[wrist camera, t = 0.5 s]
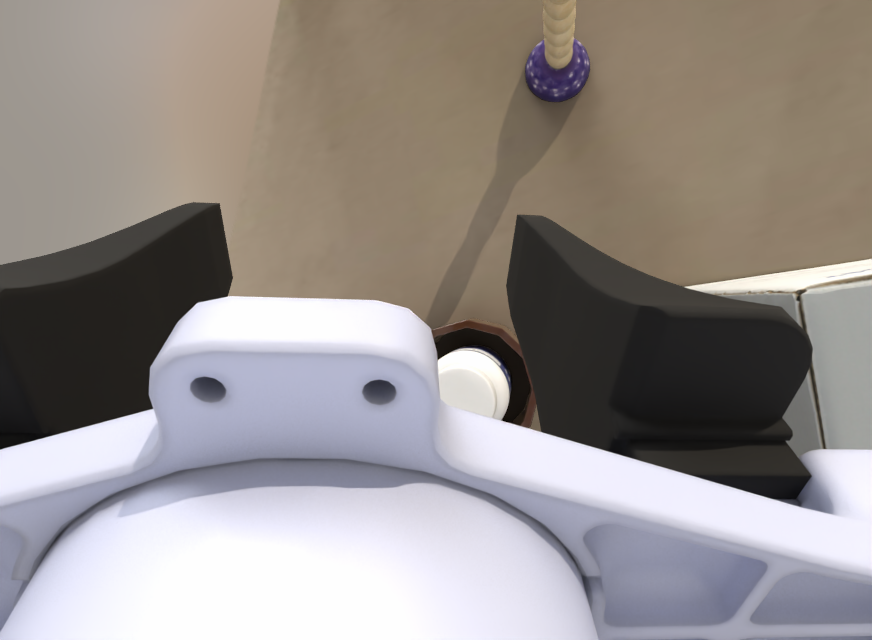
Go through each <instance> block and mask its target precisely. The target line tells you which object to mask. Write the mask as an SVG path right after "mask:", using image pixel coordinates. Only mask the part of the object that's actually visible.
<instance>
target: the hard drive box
mask: <svg viewBox="0 0 872 640" xmlns="http://www.w3.org/2000/svg"><path fill="white" fill-rule="evenodd" d="M685 288H689V289H693V290H696V291H700V292H704V293H708V294H713V295H717V296H721V297H726V298H730V299H736V300H742V301H748V302H755V303H761V304H767V305H774V306H780V307H782V308H783V309H784V310H785V311H786V312H787V313H788V314H789V315H790V316H791V317H792V318H793V319H794V320H795V321H796V322H797V323H798V324H799V325H800V326H801V327H802V328H803V330H804V331H805V332H806V333H807V334H808V335H809V338H810V341H811V344H812V347H813V353H812V363H811V366H810V368H809V370H808V373H807V375H806V378H805V379H804V381H803V383H802V385H801V386H800V388H799V390H798V391H797V393H796V395H795V397H794V398H793V400H792V402H791V403H790V405H789V407H788V408H787V410H786V412H785V414H784V415H783V417H782V418H783V419H784V420H785V421H786V423H787V424H788V425H789V427H790V428H791V429H792V431H793V436H792V438H791V440H790V441H786V442H787V444H788V445H789V446H790V447H791V449H792V450H793V451H794V453H795V454H796V455H797V457H799V456H800V455H802V454H804V453H806V452H808V451H811V450H818V449H857V450H872V259H868V260H862V261H856V262H849V263H843V264H836V265H830V266H823V267H817V268H810V269H803V270H796V271H789V272H782V273H776V274H769V275H762V276H756V277H749V278H742V279H735V280H728V281H721V282H714V283H707V284H701V285H694V286H687V287H685Z"/></svg>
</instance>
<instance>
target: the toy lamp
mask: <svg viewBox="0 0 872 640" xmlns="http://www.w3.org/2000/svg"><path fill="white" fill-rule="evenodd" d="M575 5H576V0H543V6H544V10H543V21H544V28H543V31H544V36H545V38H544V40H543V41H541V42H540V43H539V44H538V45H537V46H536V47H535V48H534V49H533V50H532V52H531V54H530V55H529V58H528V60H527V63H526V68H525V77H526V82H527V84H528V86H529V88H530V90H531V91H532V92H533V93H534V94H535V95H536V96H538V97H539V98H541V99H543V100H546V101H550V102H560V101H564V100H567V99H570V98H572V97H573V96H575V95H576V94H577V93H578V92H579V91H580V90H581V89H582V88H583V86H584V85H585V82H586V81H587V79H588V76H589V71H590V61H589V57H588V54H587V51H586V49H585V48H584V47H583V45H582V44H581V43H580V42H579V41H577V40H576V39H574V38H573V34H574V30H575V24H574V20H575V16H576V10H575Z"/></svg>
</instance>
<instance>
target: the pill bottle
mask: <svg viewBox="0 0 872 640" xmlns="http://www.w3.org/2000/svg"><path fill="white" fill-rule="evenodd" d="M438 374H439V389H440V399H441V400H442V401H444V402H445V403H446V404H447V405H449V406H452V407H456V408H459V409H463V410H466V411H470V412H473V413H477V414H480V415H484V416H487V417H490V418H494V419H497V420H502V418H503V417H504V415H505V413H506V410H507V408H508V404H509V399H510V393H511V388H512V378H511V373H510V370H509V367H508V365H507V364H506V362H505V360H504V359H503V358H502V357H501V356H500V355H499V354H498V353H497V352H495V351H494V350H492V349H490V348H488V347H485V346H482V345H466V346H462V347H459V348H457V349H455V350H453V351H452V352H450V353H448V354H447V355H445V356H443V357H442V358H440V359H439V360H438Z"/></svg>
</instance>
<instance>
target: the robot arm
mask: <svg viewBox="0 0 872 640" xmlns="http://www.w3.org/2000/svg"><path fill="white" fill-rule="evenodd" d="M232 279H233V276H232V271H231V265H230V259H229V254H228V248H227V243H226V238H225V231H224V226H223V220H222V215H221V209H220V204H219V203H194V202H193V203H189V204H185V205H181V206H179V207H176V208H173V209H171V210H168V211H166V212H163V213H161V214H159V215H157V216H154V217H152V218H149V219H147V220H145V221H142V222H140V223H138V224H135V225H133V226H131V227H128V228H126V229H123V230H120V231H118V232H115V233H112V234H110V235H107V236H105V237H102V238H100V239H97V240H94V241H91V242H89V243H86V244H82V245H79V246H76V247H73V248H70V249H66V250H63V251H59V252H56V253H52V254H48V255H44V256H41V257H36V258H31V259H27V260H22V261H17V262H12V263H8V264H3V265H0V640H872V450H857V449H818V450H811V451H808V452H806V453H804V454H802V455H800V456H799V457H797V455H796V454H795V453H794V451H793V450H792V449H791V447H790V446H789V445H788V444H787V442H786V441H790V440H791V438H792V436H793V431H792V429H791V428H790V427H789V425H788V424H787V423H786V421H785V420H784V419H783V418H782V417H783V415H784V414H785V412H786V410H787V408H788V407H789V405H790V403H791V402H792V400H793V398H794V397H795V395H796V393H797V391H798V390H799V388H800V386H801V385H802V383H803V381H804V379H805V378H806V375H807V373H808V370H809V368H810V366H811V363H812V353H813V347H812V344H811V341H810V338H809V335H808V334H807V333H806V332H805V331H804V330H803V328H802V327H801V326H800V325H799V324H798V323H797V322H796V321H795V320H794V319H793V318H792V317H791V316H790V315H789V314H788V313H787V312H786V311H785V310H784V309H783V308H782V307H780V306H774V305H767V304H761V303H755V302H748V301H742V300H736V299H730V298H726V297H721V296H717V295H713V294H708V293H704V292H700V291H696V290H693V289H689V288H685V287H682V286H679V285H676V284H673V283H670V282H667V281H664V280H661V279H658V278H656V277H653V276H650V275H648V274H645V273H643V272H641V271H638V270H636V269H634V268H632V267H629V266H627V265H625V264H623V263H621V262H619V261H617V260H615V259H613V258H611V257H610V256H608V255H606V254H604V253H602V252H601V251H599V250H597V249H595V248H594V247H592V246H590V245H589V244H587V243H586V242H584V241H582V240H581V239H579V238H578V237H576V236H575V235H573V234H572V233H570V232H569V231H567V230H566V229H564V228H563V227H561V226H560V225H558V224H556V223H555V222H553V221H552V220H550V219H548V218H546V217H544V216H536V215H517V220H516V226H515V233H514V239H513V246H512V252H511V259H510V265H509V272H508V278H507V285H506V287H507V295H508V302H509V308H510V314H511V319H512V322H513V325H514V328H515V332H516V335H517V338H518V341H519V344H520V347H521V350H522V354H523V357H524V360H525V363H526V366H527V369H528V372H529V375H530V378H531V382H532V386H533V390H534V393H535V398H536V404H537V409H538V415H539V420H540V426H541V432H539V431H535V430H532V429H528V428H525V427H522V426H518V425H515V424H511V423H508V422H504V421H501V420H497V419H494V418H490V417H487V416H484V415H480V414H477V413H473V412H470V411H466V410H463V409H459V408H456V407H452V406H449V405H447V404H446V403H445V402H444V401H442V400H441V399H440V389H439V374H438V359H437V351H436V347H435V343H434V339H433V335H432V332H431V328H430V327H429V326H428V325H427V324H425V323H424V322H423V321H422V320H421V319H420V318H419V317H417V316H416V315H415V314H414V313H413V312H412V311H411V310H410V309H408V308H405V307H401V306H397V305H393V304H389V303H385V302H381V301H377V300H349V299H312V298H275V297H238V296H229V297H228V293H229V290H230V286H231V282H232Z"/></svg>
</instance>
